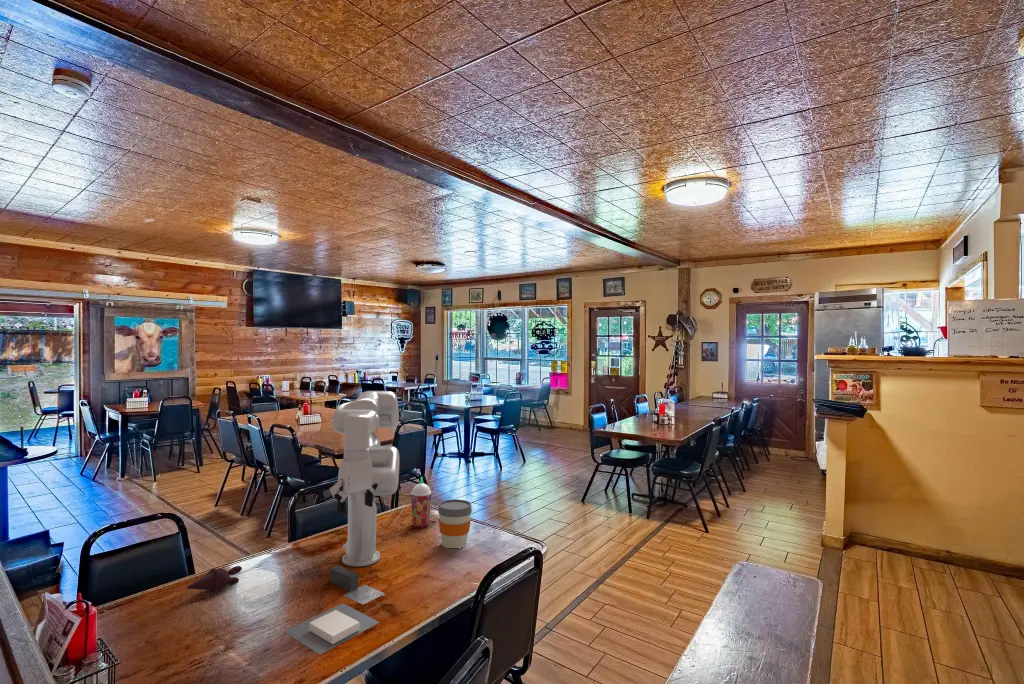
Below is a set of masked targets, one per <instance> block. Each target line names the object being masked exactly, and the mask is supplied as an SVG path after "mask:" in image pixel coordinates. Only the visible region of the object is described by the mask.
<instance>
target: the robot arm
mask: <svg viewBox="0 0 1024 684" xmlns="http://www.w3.org/2000/svg"><path fill="white" fill-rule="evenodd" d="M331 419H332V420H331V427H332V429H333V431H334V432H335V433H337V434H343V458H342V459H341V460H340V463H339V467H338V475H337V482H336V483H335V484H333V485H332V486H331V487H330V488H329V492H330V493H331V495H332V496H331V497H333V498H334V499H335V501H337V504H336V505H337V509H336V510H337V513H338V514H339V515H342V516H346V513H347V540H346V542H345V543H343V544H342V549H344V550H345V553H344V555H343V556H342V559H341V560H342V561H341V562H342V563H343V564H344V565H345V566H349V567H355V568H357V567H366V566H371V565H373V564H375V563H377V562H379V560H380V558H381V553H380V551H378V550H377V517H378V515H377V514H378V508H377V505H376V503H375V501H374V496H391V495H394V494H395V493H396V492H397V490H398V488H399V477H400V476H399V475H400V452H399V449H398V448H397V447H396V446H393V445H381V439H380V437H379V435H378V434H376V432H375V431H376V430H377V429H392V428H395V427H397V426H398V424H399V419H400V414H399V402H398V397H397V395H396V394H395V393H394V392H393V391H390V390H366V391H363V392H362V393H360V394H359V395H358V397H357V399H356V400H352V401H349V402H345V403H342V404H340V405H338V406H337V407H336V408H335V411H334V412H333V415H332V418H331ZM346 498H347V502H346V501H345V500H346ZM347 504H348V505H347ZM347 506H348V507H347ZM347 509H348V510H347Z"/></svg>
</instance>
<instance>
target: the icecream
mask: <svg viewBox="0 0 1024 684" xmlns="http://www.w3.org/2000/svg"><path fill="white" fill-rule="evenodd" d="M242 570H243V567H242V566H241V565H236V566H235V565H234V566H232V567H231V568H230V569H228V570H226V569H225V568H219V567H218V568H211V569H210V570H209V571H207V574H205V575H204V576H203V577H201V578H199V579H197V580H195V581H193V582H192V583H191V584H189V585H187V586H186V589H187V590H199V591H211V592H210V593H212V594H213V593H214V594H216V593H217V592H219V591H223V590H224V589H225V588H226V587H227V586H228V585H229V586H230V585H231V586H232V584H233V585H235V583H236V584H237V583H239V581H240V578H239V577H236V576H235V575H237V574H239V573H241V571H242ZM232 576H233V577H232ZM216 591H217V592H216ZM214 594H213V595H214Z"/></svg>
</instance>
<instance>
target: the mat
mask: <svg viewBox="0 0 1024 684" xmlns="http://www.w3.org/2000/svg"><path fill="white" fill-rule="evenodd" d="M335 610H337V611H339V612H341V613H343V614H345V615H347V616H349V617H351V618H352V619H354V620H356V621H358V622H360V630H359V631H357V632H356V633H354V634H352V635H350V636H348V637H346V638H344V639H343V640H341V641H339V642H337V643H335V644H331V643H329V642H328V641H326V640H324V639H323V638H321V637H319V636H318V635H316V634H314V633H313V632H311V631H309V623H310V622H312V621H314V620H316V619H318V618H320V617H322V616H324V615H326V614H328V613H330V612H333V611H335ZM378 624H380V621H378V620H376V619H374V618H372V617H370V616H369V615H366V614H365V613H362V612H361V611H359V610H356V609H354V608H353V607H351V606H349V605H347V604H345V603H340V604H338V605H336V606H334V607H332V608H329V609H328V610H326V611H323V612H322V613H319V614H317V615H315V616H313V617H311V618H309V619H306V620H304V621H302V622H299V623H298V624H296V625H294V626H291V627H290V628H287V629H285V630H283V631H282V632H283V633H285V634H286V635H288V636H289V637H291V638H293V639H294V640H296V641H297V642H299V643H301V644H302V645H304V646H305V647H307V648H309V649H310V650H312V651H313V652H314V653H317V654H318V655H320V656H321V655H323V654H324V653H326V652H328V651H330V650H332V649H333V648H335V647H337V646H339V645H341V644H343V643H345V642H347V641H348V640H350V639H353V638H354V637H357V636H358V635H359V634H361V633H364V632H365V631H366V630H369V629H370V628H372V627H373V626H376V625H378Z"/></svg>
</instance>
